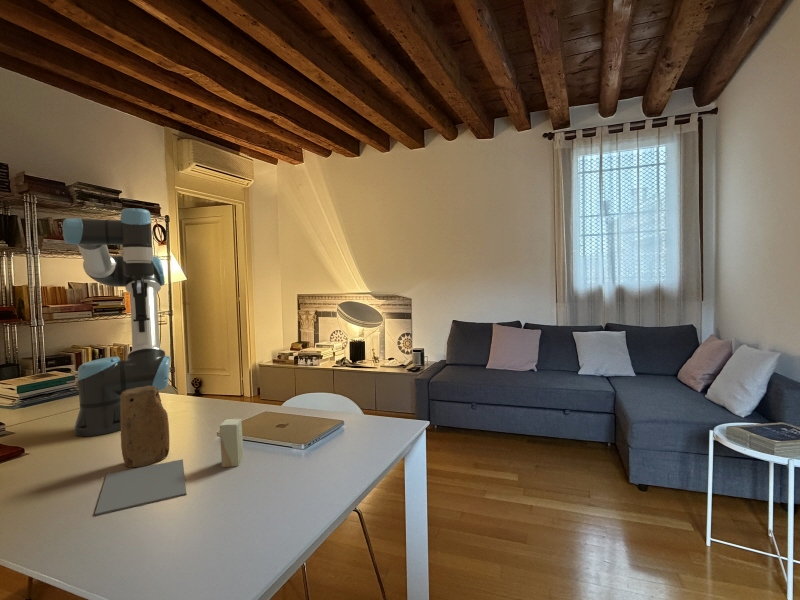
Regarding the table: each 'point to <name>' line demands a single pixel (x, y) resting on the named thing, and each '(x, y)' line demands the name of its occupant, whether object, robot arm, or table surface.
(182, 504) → the table surface
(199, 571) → the table surface
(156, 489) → the mat
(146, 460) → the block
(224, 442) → the box
